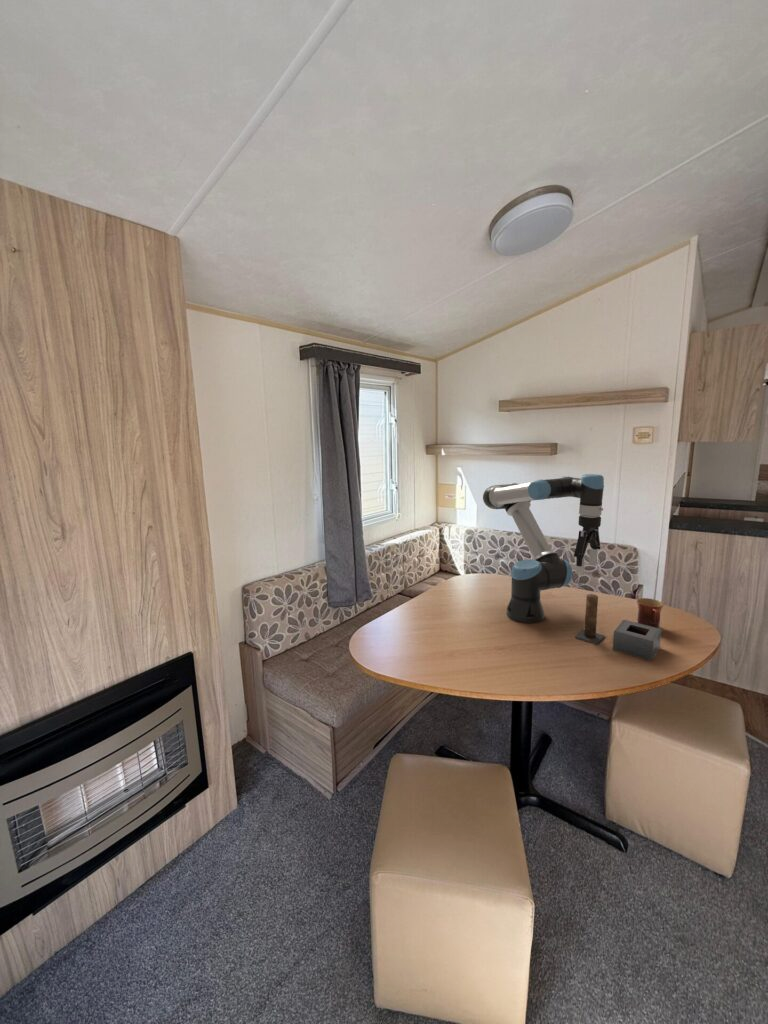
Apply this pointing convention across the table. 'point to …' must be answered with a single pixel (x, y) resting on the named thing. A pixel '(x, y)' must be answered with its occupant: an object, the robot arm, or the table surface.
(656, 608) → the mug
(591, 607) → the brown cylinder
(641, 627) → the grey hollow block
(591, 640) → the coaster
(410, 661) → the table surface
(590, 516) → the robot arm
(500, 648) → the table surface
